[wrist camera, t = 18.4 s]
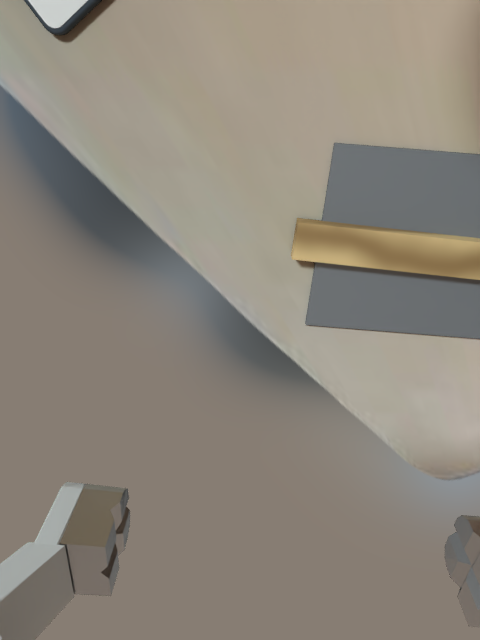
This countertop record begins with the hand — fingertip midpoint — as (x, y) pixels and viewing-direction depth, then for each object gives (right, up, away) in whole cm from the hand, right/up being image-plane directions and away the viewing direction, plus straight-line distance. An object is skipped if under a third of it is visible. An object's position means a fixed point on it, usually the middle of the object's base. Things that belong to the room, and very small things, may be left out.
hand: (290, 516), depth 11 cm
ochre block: (+16, +12, +37) cm, 42 cm away
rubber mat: (+19, +12, +37) cm, 43 cm away
